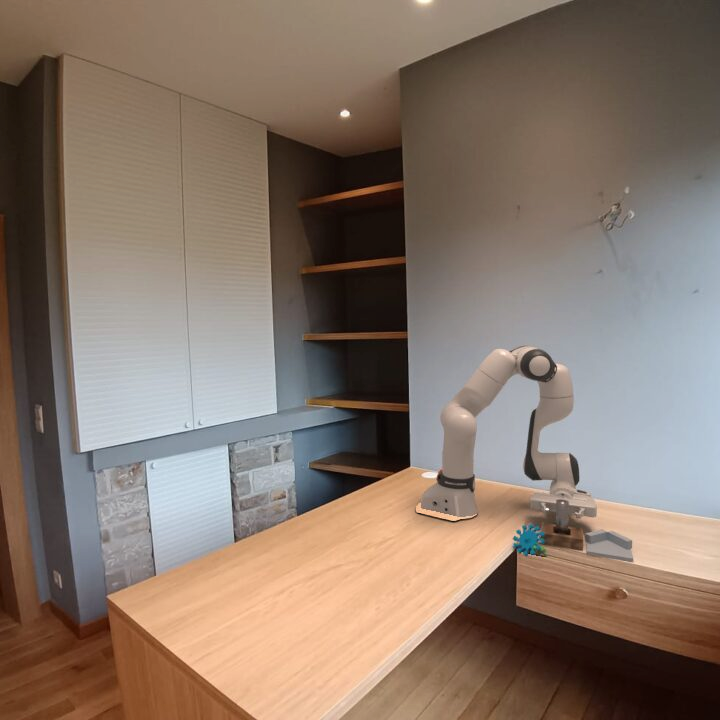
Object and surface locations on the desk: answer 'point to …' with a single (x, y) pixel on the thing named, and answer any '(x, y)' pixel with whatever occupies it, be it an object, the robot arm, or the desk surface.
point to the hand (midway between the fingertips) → (562, 513)
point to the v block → (609, 545)
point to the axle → (562, 516)
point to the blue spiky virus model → (529, 540)
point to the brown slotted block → (563, 537)
